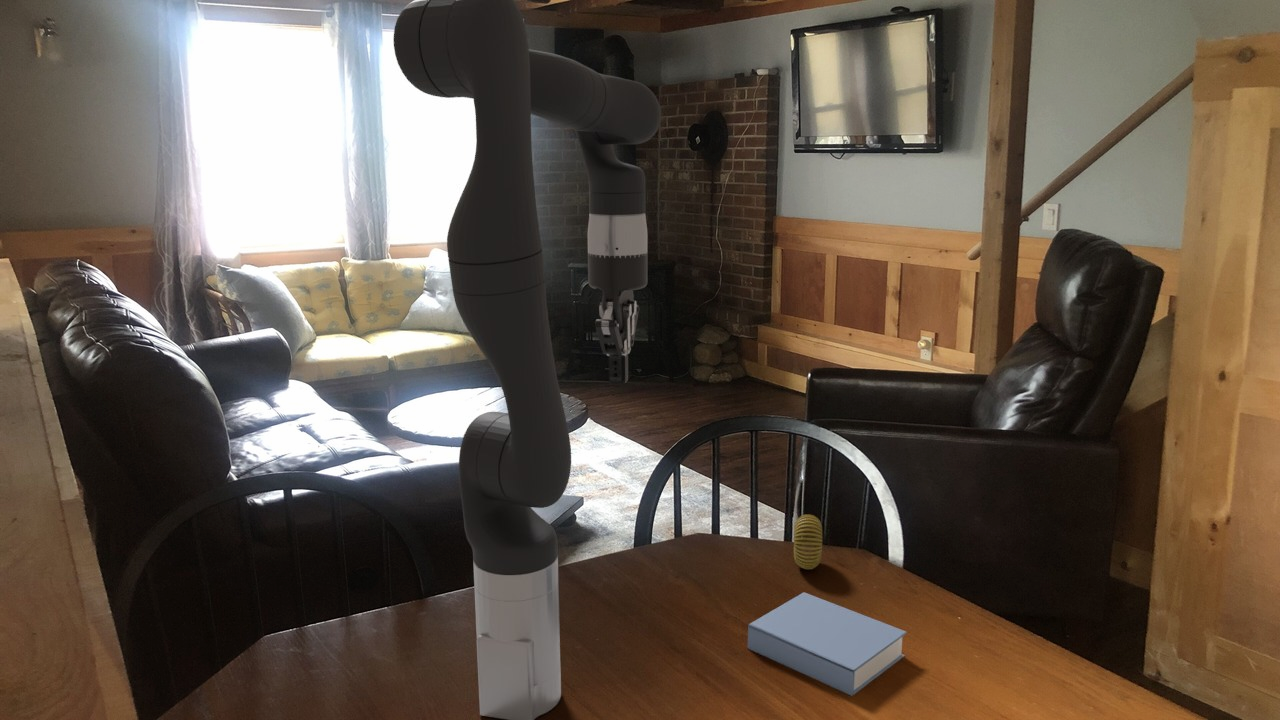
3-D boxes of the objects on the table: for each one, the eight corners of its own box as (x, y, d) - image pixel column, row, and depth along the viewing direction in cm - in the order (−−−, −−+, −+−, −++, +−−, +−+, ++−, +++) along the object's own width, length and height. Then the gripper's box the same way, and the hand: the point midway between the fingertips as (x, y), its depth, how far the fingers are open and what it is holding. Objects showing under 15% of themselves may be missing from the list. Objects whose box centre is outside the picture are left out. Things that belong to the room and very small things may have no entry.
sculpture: (821, 579, 138) (823, 527, 136) (793, 577, 138) (795, 526, 136) (819, 556, 145) (822, 506, 144) (793, 554, 146) (794, 505, 144)
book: (803, 616, 128) (904, 657, 118) (747, 650, 119) (851, 697, 109) (803, 592, 127) (906, 631, 117) (748, 624, 119) (853, 670, 108)
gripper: (633, 256, 113) (634, 398, 117) (658, 244, 126) (658, 372, 130) (572, 255, 115) (575, 394, 119) (603, 243, 128) (604, 369, 131)
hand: (618, 382), depth 124 cm, fingers closed
